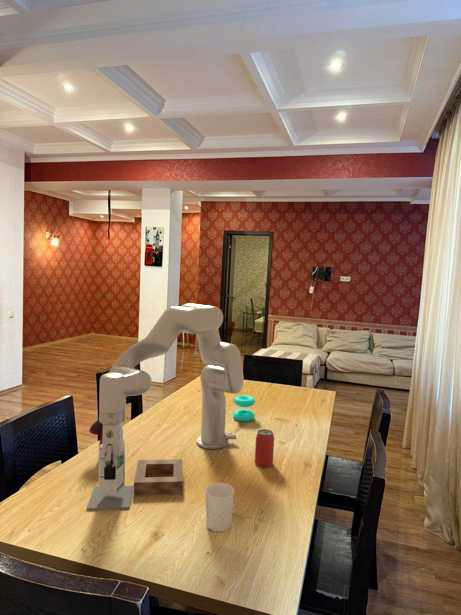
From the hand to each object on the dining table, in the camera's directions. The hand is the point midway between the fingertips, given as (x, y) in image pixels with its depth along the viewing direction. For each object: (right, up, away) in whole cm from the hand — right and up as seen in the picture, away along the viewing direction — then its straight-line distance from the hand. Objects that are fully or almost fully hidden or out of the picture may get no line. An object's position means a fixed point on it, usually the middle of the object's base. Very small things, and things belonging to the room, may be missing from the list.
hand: (111, 472), depth 128 cm
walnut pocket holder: (+12, -8, +11) cm, 18 cm away
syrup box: (0, -5, +1) cm, 5 cm away
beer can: (+48, -8, +27) cm, 55 cm away
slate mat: (0, -8, +1) cm, 8 cm away
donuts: (+42, -3, +73) cm, 84 cm away
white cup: (+32, -11, -10) cm, 35 cm away
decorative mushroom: (-10, -5, +27) cm, 29 cm away
